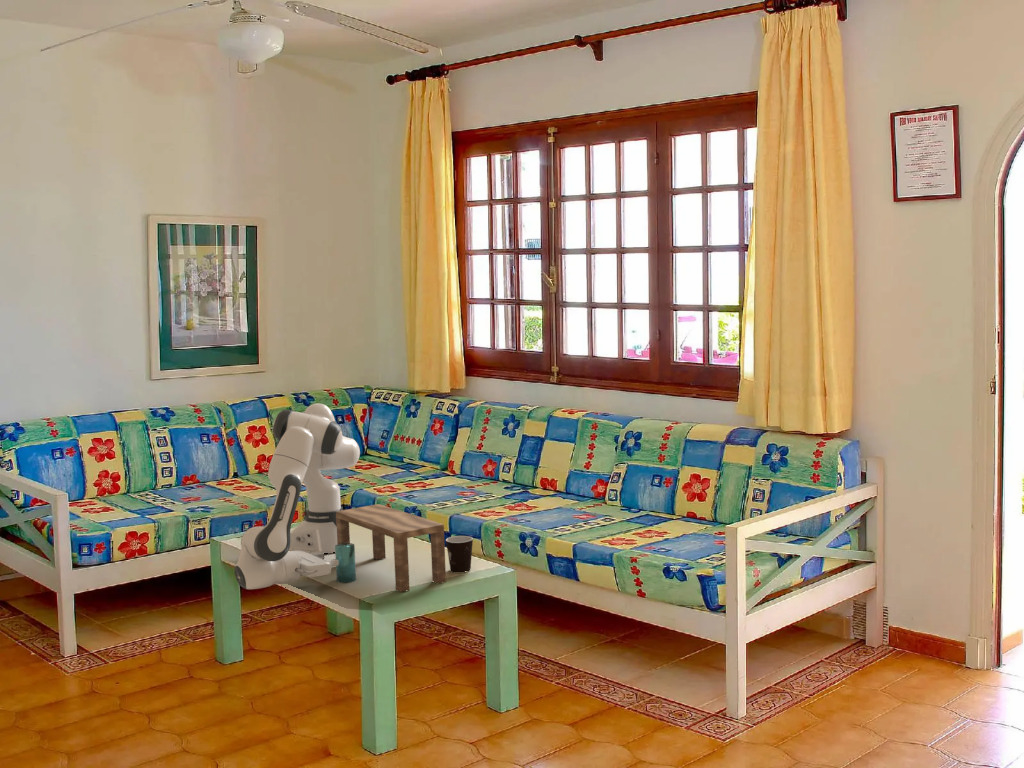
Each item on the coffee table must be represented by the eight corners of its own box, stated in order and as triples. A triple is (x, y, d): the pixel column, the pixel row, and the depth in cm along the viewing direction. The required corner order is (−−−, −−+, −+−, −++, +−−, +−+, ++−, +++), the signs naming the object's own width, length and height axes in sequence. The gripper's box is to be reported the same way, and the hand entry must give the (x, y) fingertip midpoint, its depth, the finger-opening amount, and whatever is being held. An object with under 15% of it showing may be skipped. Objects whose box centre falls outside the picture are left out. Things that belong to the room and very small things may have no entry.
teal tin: (333, 582, 332) (331, 547, 331) (342, 576, 338) (340, 542, 337) (351, 583, 330) (349, 548, 329) (359, 577, 336) (357, 543, 335)
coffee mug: (448, 566, 346) (447, 536, 345) (474, 566, 346) (473, 535, 345) (444, 576, 334) (443, 545, 333) (472, 576, 334) (471, 544, 333)
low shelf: (400, 592, 319) (398, 533, 317) (338, 565, 351) (335, 511, 350) (445, 581, 329) (443, 524, 327) (381, 556, 361) (378, 504, 359)
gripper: (303, 563, 313) (346, 555, 322) (274, 550, 330) (315, 543, 338) (304, 584, 314) (347, 575, 322) (275, 570, 330) (316, 562, 338)
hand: (330, 558), depth 330 cm, fingers open, 8 cm apart
